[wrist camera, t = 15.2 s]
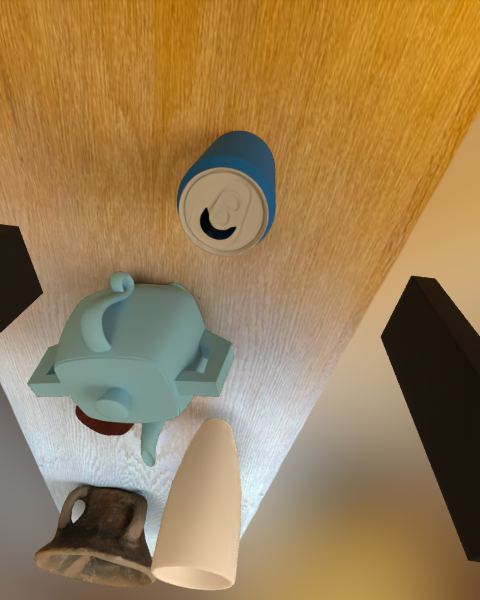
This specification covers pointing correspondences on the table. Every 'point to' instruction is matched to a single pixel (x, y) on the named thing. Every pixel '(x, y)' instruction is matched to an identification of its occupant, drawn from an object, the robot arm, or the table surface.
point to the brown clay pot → (101, 540)
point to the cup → (202, 514)
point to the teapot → (135, 357)
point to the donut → (103, 424)
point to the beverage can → (229, 195)
